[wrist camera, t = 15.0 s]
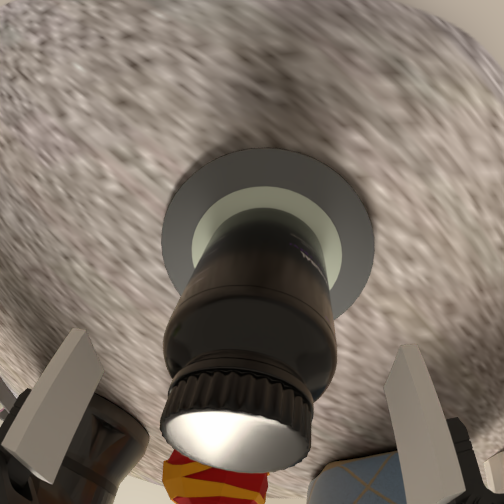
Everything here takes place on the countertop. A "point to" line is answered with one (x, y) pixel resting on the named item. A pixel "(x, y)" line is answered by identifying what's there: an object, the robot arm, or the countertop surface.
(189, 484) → the potion bottle
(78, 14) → the countertop surface
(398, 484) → the planter
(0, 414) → the bowl mat frame
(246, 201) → the plate
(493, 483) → the cup
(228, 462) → the supplement bottle
